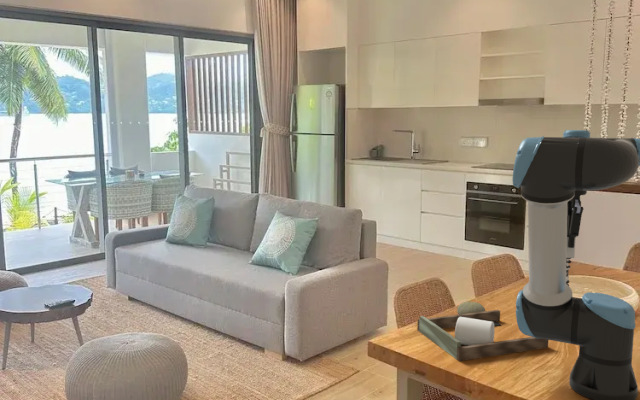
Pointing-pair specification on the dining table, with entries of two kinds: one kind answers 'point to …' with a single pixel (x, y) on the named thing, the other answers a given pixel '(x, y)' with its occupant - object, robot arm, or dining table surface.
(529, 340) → the wooden tray
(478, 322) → the mug
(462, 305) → the sea urchin shell
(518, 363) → the dining table surface
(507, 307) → the dining table surface
